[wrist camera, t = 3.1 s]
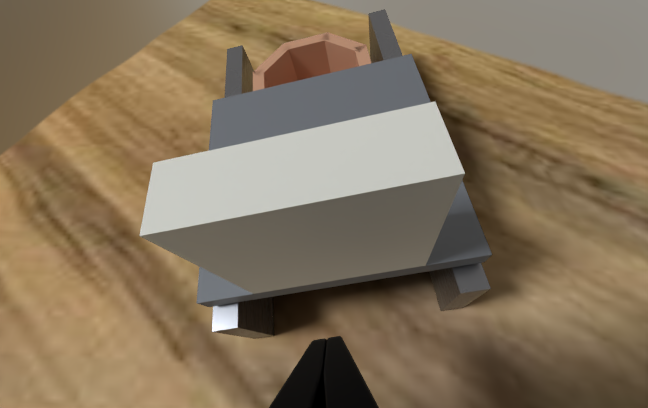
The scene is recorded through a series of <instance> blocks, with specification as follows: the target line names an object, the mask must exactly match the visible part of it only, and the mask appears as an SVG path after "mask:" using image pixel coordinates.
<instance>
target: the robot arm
mask: <svg viewBox="0 0 648 408" xmlns="http://www.w3.org/2000/svg"><path fill="white" fill-rule="evenodd" d="M269 408H379V407H378V405H377V403H376V401H375V400H374V398H373V396H372V394H371V392H370V390H369V388H368V386H367V384H366V383H365V381H364V379H363V377H362V375H361V373H360V371H359V369H358V367H357V365H356V364H355V362H354V360H353V358H352V356H351V354H350V352H349V350H348V348H347V347H346V345H345V343H344V341H343V339H342V337H340V336H337V337H331V338H328V339H327V340H326V339H319V340H314V341H312V342H311V344H310V345H309V347H308V348H307V350H306V351H305V353H304V355H303V356H302V358H301V359H300V361H299V362H298V364H297V365H296V367H295V368H294V370H293V371H292V373H291V375H290V376H289V378H288V379H287V381H286V382H285V384H284V385H283V387H282V388H281V390H280V391H279V393H278V395H277V396H276V398H275V399H274V401H273V402H272V404H271V405H270V407H269Z"/></svg>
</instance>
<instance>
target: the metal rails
mask: <svg viewBox="0 0 648 408" xmlns="http://www.w3.org/2000/svg"><path fill="white" fill-rule="evenodd" d="M369 36H370V57H371V63H375V62H379V61H383V60H388V59H392V58H396V57H400V56H402V53H401V50H400V48H399V45H398V42H397V40H396V37H395V35H394V32H393V29H392V27H391V24H390V21H389V19H388V16H387V13H386V11H385V10H381V11H377V12H373V13H369ZM253 72H254V70H253V68H252V65H251V63H250V61H249V59H248V57H247V54H246V52H245V50H244V48H243V46H238V47H234V48H230V49H227V66H226V84H225V98H226V97H230V96H235V95H239V94H243V93H247V92H252V91H253ZM429 272H430V276H431V279H432V283H433V286H434V290H435V293H436V296H437V300H438V303H439V307H440V310H441V311H444V310H451V309H457V308H463V307H465V306H466V305H468V304H469V303H471V302H472V301H474V300H475V299H476V298H478V297H479V296H481V295H482V294H484V293H485V292H487V291H488V290H490V289H491V288H490V285H489V283H488V280H487V277H486V275H485V272H484V269H483V267H482V264H481V263H476V264H470V265H464V266H458V267H451V268H445V269H439V270H433V271H429ZM212 332H217V333H223V334H229V335H235V336H241V337H247V338H253V339H256V338H263V337H270V336H274V322H273V297H267V298H261V299H255V300H249V301H242V302H236V303H230V304H224V305H218V306H213V322H212Z"/></svg>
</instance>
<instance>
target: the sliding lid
mask: <svg viewBox="0 0 648 408" xmlns="http://www.w3.org/2000/svg"><path fill="white" fill-rule="evenodd" d="M464 175H465V172H464V170H463V167H462V165H461V163H460V160H459V158H458V155H457V153H456V150H455V148H454V146H453V143H452V141H451V138H450V136H449V133H448V131H447V129H446V126H445V124H444V121H443V119H442V117H441V114H440V112H439V109H438V107H437V104H436V102H430V99H429V97H428V94H427V92H426V89H425V87H424V84H423V82H422V79H421V77H420V74H419V72H418V69H417V67H416V64H415V62H414V59H413V57H412V54H409V55H405V56H400V57H396V58H392V59H388V60H383V61H379V62H375V63H371V64H366V65H362V66H358V67H354V68H349V69H345V70H341V71H337V72H332V73H328V74H324V75H320V76H315V77H311V78H307V79H303V80H298V81H294V82H290V83H286V84H281V85H277V86H273V87H269V88H264V89H260V90H256V91H252V92H247V93H243V94H239V95H235V96H230V97H226V98H222V99H218V100H213V106H212V119H211V131H210V144H209V151H205V152H201V153H196V154H191V155H187V156H182V157H178V158H173V159H169V160H164V161H159V162H155V163H153V167H152V172H151V178H150V183H149V188H148V194H147V199H146V204H145V210H144V215H143V220H142V226H141V231H140V237H142V238H144V239H146V240H148V241H150V242H152V243H154V244H156V245H158V246H160V247H162V248H164V249H166V250H168V251H170V252H172V253H174V254H176V255H178V256H180V257H182V258H184V259H186V260H188V261H190V262H192V263H194V264H196V265H198V266H199V267H200V268H199V280H198V293H197V304H201V305H204V306H207V307H212V306H218V305H224V304H230V303H236V302H242V301H249V300H255V299H261V298H267V297H273V296H279V295H285V294H292V293H298V292H304V291H310V290H316V289H322V288H329V287H335V286H341V285H347V284H353V283H359V282H365V281H372V280H378V279H384V278H390V277H396V276H402V275H408V274H415V273H421V272H427V271H433V270H439V269H445V268H451V267H458V266H464V265H470V264H476V263H482V262H485V261H486V260H487V259H488V258H489V257H490V256H491V255H492V253H491V251H490V248H489V246H488V243H487V241H486V238H485V236H484V233H483V231H482V228H481V226H480V223H479V221H478V218H477V216H476V213H475V211H474V208H473V206H472V203H471V201H470V198H469V196H468V193H467V191H466V188H465V186H464V183H463V181H462V179H463V177H464Z"/></svg>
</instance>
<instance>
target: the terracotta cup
mask: <svg viewBox="0 0 648 408" xmlns="http://www.w3.org/2000/svg"><path fill="white" fill-rule="evenodd" d="M366 64H371V60H370V57H369V53H368V50H367V45H365V44H362V43H359V42H355V41H352V40H349V39H346V38H343V37H340V36H337V35H334V34H331V33H328V32H327V33H324V34H320V35H316V36H312V37H308V38H304V39H300V40H296V41H292V42H288V43H283V44H282V45H281V46H280V47H279V48H278V49H277V50H276V51H275V52H274V53H273V54H272V55H271V56H270V57H268V58H267V59H266V60H265V61H264V62H263V63H262V64H261V65H260V66H259V67H258V68H257V69H256V70H255V71H254V72H253V91H256V90H260V89H264V88H269V87H273V86H277V85H281V84H286V83H290V82H294V81H298V80H303V79H307V78H311V77H315V76H320V75H324V74H328V73H332V72H337V71H341V70H345V69H349V68H354V67H358V66H362V65H366Z"/></svg>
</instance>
